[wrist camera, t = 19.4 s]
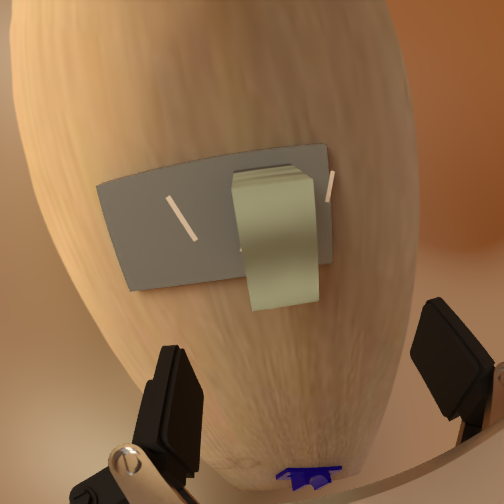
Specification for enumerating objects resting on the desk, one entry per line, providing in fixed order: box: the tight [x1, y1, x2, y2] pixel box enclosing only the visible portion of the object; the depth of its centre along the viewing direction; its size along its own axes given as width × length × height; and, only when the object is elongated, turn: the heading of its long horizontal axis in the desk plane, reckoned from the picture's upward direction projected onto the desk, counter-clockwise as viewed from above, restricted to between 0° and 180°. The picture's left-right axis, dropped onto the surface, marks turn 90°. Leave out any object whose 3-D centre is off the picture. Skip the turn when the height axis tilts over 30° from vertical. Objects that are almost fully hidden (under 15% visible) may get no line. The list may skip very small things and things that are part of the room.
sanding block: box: [231, 163, 319, 311], centre depth 22 cm, size 9×5×8 cm, turn 8°
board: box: [96, 143, 335, 292], centre depth 26 cm, size 12×23×2 cm, turn 98°
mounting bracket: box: [276, 466, 342, 491], centre depth 56 cm, size 18×7×6 cm, turn 69°
